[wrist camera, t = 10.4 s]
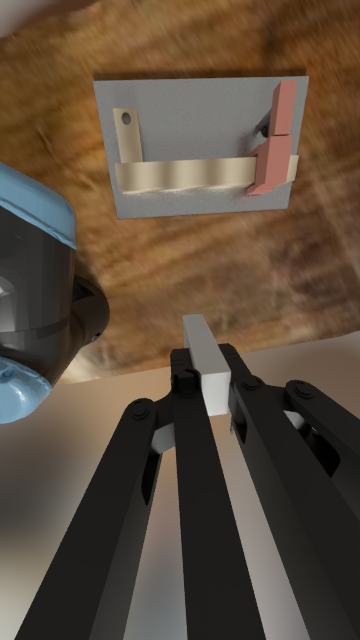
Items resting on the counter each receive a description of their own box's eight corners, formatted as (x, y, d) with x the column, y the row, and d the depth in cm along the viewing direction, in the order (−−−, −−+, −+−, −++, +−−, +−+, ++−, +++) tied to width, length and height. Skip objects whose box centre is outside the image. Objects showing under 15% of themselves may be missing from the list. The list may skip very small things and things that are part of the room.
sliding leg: (246, 195, 30) (264, 185, 25) (252, 113, 26) (276, 80, 21) (263, 194, 31) (285, 184, 25) (272, 113, 26) (302, 79, 21)
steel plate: (119, 219, 32) (117, 218, 31) (95, 86, 25) (92, 80, 24) (283, 209, 33) (287, 208, 32) (304, 81, 26) (309, 75, 25)
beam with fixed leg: (122, 193, 29) (118, 189, 27) (110, 121, 26) (104, 108, 23) (282, 184, 31) (294, 180, 28) (293, 115, 27) (307, 102, 24)
